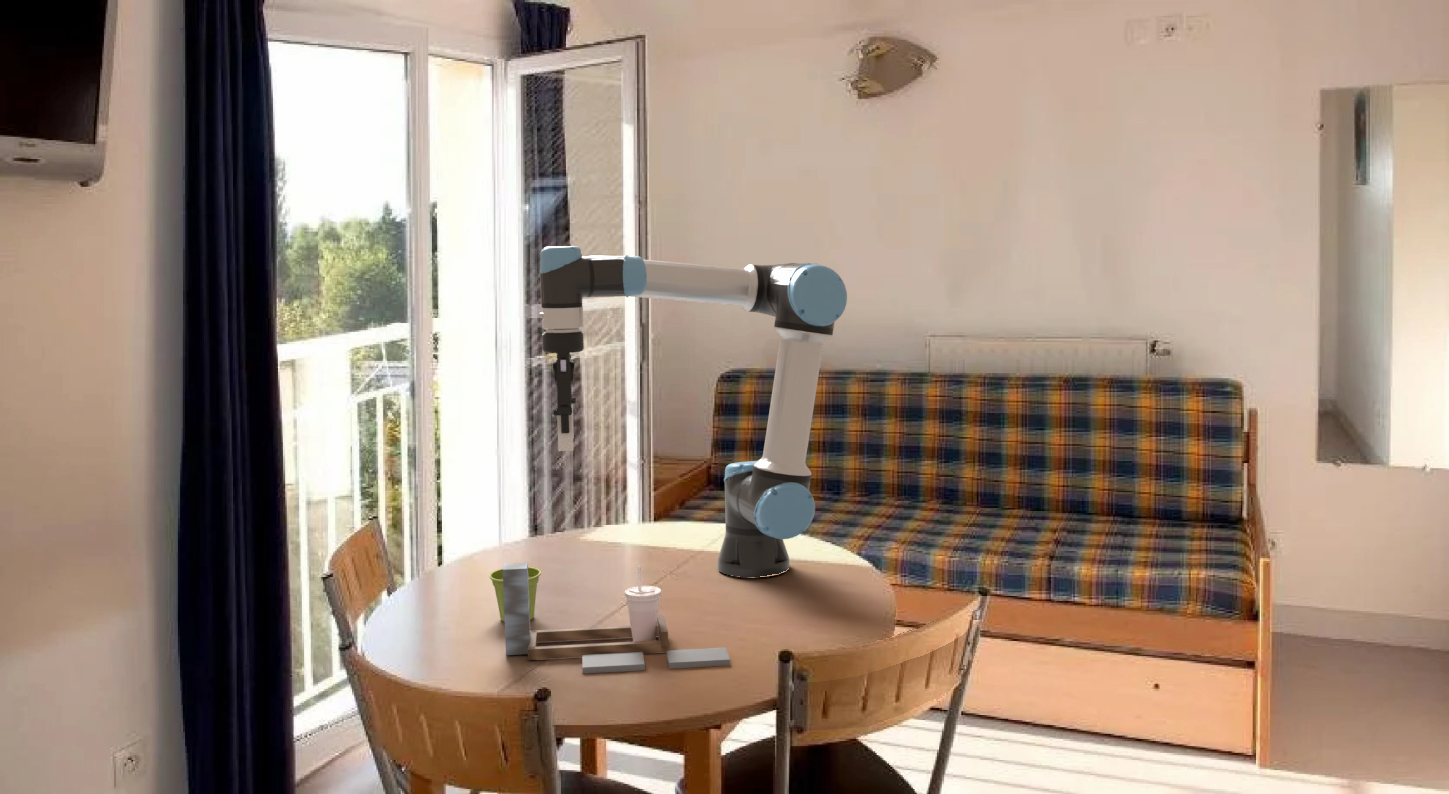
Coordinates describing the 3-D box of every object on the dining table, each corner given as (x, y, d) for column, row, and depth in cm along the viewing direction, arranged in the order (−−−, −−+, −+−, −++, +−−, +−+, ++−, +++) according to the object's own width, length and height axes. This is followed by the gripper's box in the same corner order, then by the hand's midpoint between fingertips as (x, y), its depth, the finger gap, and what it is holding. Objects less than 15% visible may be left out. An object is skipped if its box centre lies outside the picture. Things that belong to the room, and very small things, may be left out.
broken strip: (725, 653, 206) (725, 647, 206) (730, 665, 200) (729, 659, 200) (582, 660, 204) (582, 655, 204) (582, 673, 198) (582, 667, 198)
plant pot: (519, 629, 220) (517, 583, 219) (480, 621, 225) (478, 576, 224) (553, 615, 228) (551, 570, 227) (514, 608, 233) (513, 564, 232)
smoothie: (627, 639, 214) (625, 561, 212) (664, 639, 214) (662, 561, 212) (623, 651, 208) (621, 571, 206) (661, 651, 208) (659, 571, 206)
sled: (664, 633, 216) (662, 551, 214) (668, 652, 206) (666, 567, 204) (508, 641, 213) (505, 558, 211) (504, 661, 203) (501, 574, 201)
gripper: (544, 326, 237) (547, 434, 240) (539, 336, 212) (544, 456, 215) (583, 325, 238) (586, 433, 241) (583, 335, 213) (587, 455, 216)
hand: (566, 444), depth 228 cm, fingers open, 13 cm apart
